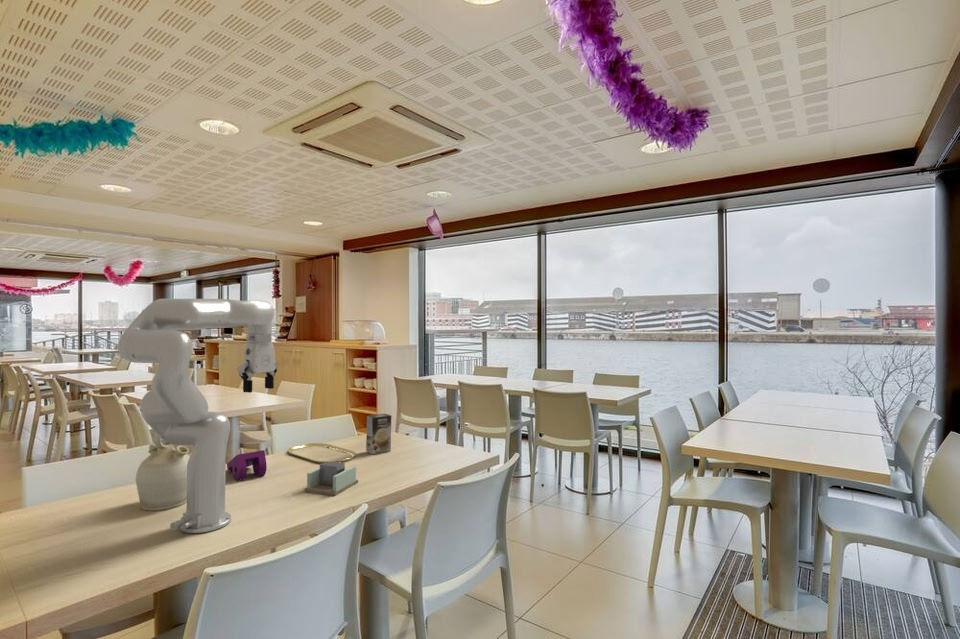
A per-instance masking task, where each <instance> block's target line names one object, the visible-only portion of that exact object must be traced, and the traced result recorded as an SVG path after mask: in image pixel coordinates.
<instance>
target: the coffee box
mask: <svg viewBox="0 0 960 639" xmlns="http://www.w3.org/2000/svg"><path fill="white" fill-rule="evenodd" d="M365 442H366V445H365V446H366V447H365V452H366V451H367V453H368V452H369V453H368V454H370V453H371V455H377V454H376V453H379V454H382V453H381V452H385V453H388V452H387V451H390V452H391V451H392V448H391V447H392V445H391V444H392V414H391V415H390V414H386V413H380V414H379V413H378V414H370V415H369V414H368V415H366V441H365Z"/></svg>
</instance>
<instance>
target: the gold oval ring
mask: <svg viewBox="0 0 960 639" xmlns="http://www.w3.org/2000/svg"><path fill="white" fill-rule="evenodd" d="M312 446H326V447H331V448H335V449H336V448H337V449H339V450H343V451H346V452H349V453H352V454H353V455H354V456H353V457H352V456H351V457H348V458H344V459H340V460H330V462H341V463H345V462H348V460H349V461H351V460H353V459H354V458H355V457H356V455H357V454H356V451H354V450H350V449H347V448H344V447H339V446H336V445H332V444H328V443H319V442H315V443H304V444H297V445H295V446H292V447H290V448H288V450H287V451H288V453H289V454H290V455H292V456H293V457H294V456H295V457H297V456H298V458H300V457H301V459H303V458H304V460H306V459H307V461H309V462H310V461H311V462H313V463H316V462H318V463H317V464H322V463H325V462H327V461H328V460H327V461H325V460H323V461H322V460H315V459H312V458H309V457H306V456H303V455H300V454H297V453H293V452H294V451H296V450H300V449H305V448H313V447H312ZM292 451H293V452H292ZM352 458H353V459H352ZM350 459H351V460H350ZM344 461H345V462H344Z"/></svg>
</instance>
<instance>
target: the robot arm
mask: <svg viewBox="0 0 960 639" xmlns="http://www.w3.org/2000/svg"><path fill="white" fill-rule="evenodd" d="M274 316H275V309H274V307H273V305H272V304H271V303H270V302H269V301H266V300H236V299H225V298H158V299H155V300H154V301H152V302H150V303H149V304H148V305H147V306H146V307H145V308H144V309H143V310H142V311H141V312H140V313H139V314H138V315H137V316H136V318H135V319H134V320H133V321H132V322H131V323H130V325H129V326H127V328H126V329H125V330H124V331H123V333H122V334H121V336H120V337H119V340H118V343H117V349H118V353H119V355H120V356H121V358H122V359H124V360H125V361H127V362H129V363H135V364H138V363H139V364H158V366H157V368H156V371H155V374H154V376H153V378H152V380H151V384H150V388H151V389H150V390H148V391H147V392H146V393H145V394H144V396H142V399H141V402H140V413H141V416H142V418H143V420H144V421H145V422H146V424H147V425H148V426H149V427H150V428H151V429H152V430H153V432H155V433H157V434H158V435H159V436H160V437H161V440H163V441H164V442H165V443H166V444H167V443H169V444H172V445H174V446H180V445H181V446H185V447H187V446H189V447H195V448H194V450H193V451H192V453H191V455H189V456H190V458H189V460H188V463H187V502H186V511H185V512H183V513H182V517H181V518H180V519H179V520H178V519H177V520H176V521H173V522H171V523H170V525H169V526H170V529H171V530H172V531H174V530H177V529H179V530H180V531H181V532H183V533H187V534H201V533H202V534H203V533H207V532H212V531H215V530H218V529H221V528H223V527H225V526H227V525H228V524H230V523H231V520H232V515H231V514H230V513H229V512H226V473H227V472H226V470H227V463H226V460H227V445H228V440H229V437H230V432H231V422H230V420H229V418H228V417H227V416H226V415H225V414H224V413H221V412H217V411H209V404H208V401H207V399H206V397H205V396H204V395H203V394H202V392H201V391H200V389H199V388H198V387H197V385H195V383H194V382H193V380H192V379H191V377H190V376H189V375H190V374H189V366H190V361H191V357H192V352H193V342H192V339H191V337H190V336H189V335H188V334H187V333H185V331H196V330H197V331H198V330H199V331H200V330H205V329H207V330H208V329H224V328H228V329H229V328H235V327H246V337H245V340H246V343H245V346H244V354H243V363H242V364H240V365H239V366H237V371H238V373H239V374H238V376H239V377H241V380H242V382H243V383H242V392H243V393H249V394H250V393H253V380H252V378H253V376H254V375H258V374H259V375H260V374H265V377H264V388H265V389H272V390H273V389H274V386H275V385H274V384H275V381H274V380H275V377H276V374H277V372H278V367H279V362H277V361H276V354H275V353H276V351H275V346H274V343H273V342H272V334H273V333H272V332H273V331H272V329H273V326H272V325H273V324H272V323H273V320H274Z"/></svg>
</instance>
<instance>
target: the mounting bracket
mask: <svg viewBox="0 0 960 639" xmlns="http://www.w3.org/2000/svg"><path fill="white" fill-rule="evenodd" d="M251 466H252V470H253V474H254V475H255V477H256V478H257V477H262V476H265V475H266V473H267V458H266V453H265V450H264V449H262V450H256V451H250V452H245V453H239V454H236V455H235V456H234V457H232V458H231V460H229V461H228V462H227V463H226V470H227V471H232V476H233V478H234V480H235V481H237V482H238V481H243V480H245V478H246V477H247V468H248V467H251Z"/></svg>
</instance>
